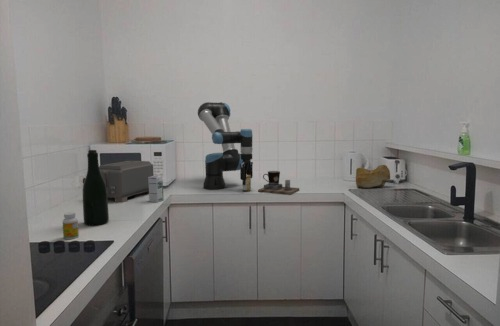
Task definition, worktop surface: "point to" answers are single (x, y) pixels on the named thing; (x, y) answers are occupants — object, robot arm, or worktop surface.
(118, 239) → the worktop surface
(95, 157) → the dark green wine bottle
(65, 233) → the supplement bottle
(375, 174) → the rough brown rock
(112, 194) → the toaster
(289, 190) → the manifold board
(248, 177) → the gold tall rounded piece
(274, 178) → the coffee mug
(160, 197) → the syrup box
